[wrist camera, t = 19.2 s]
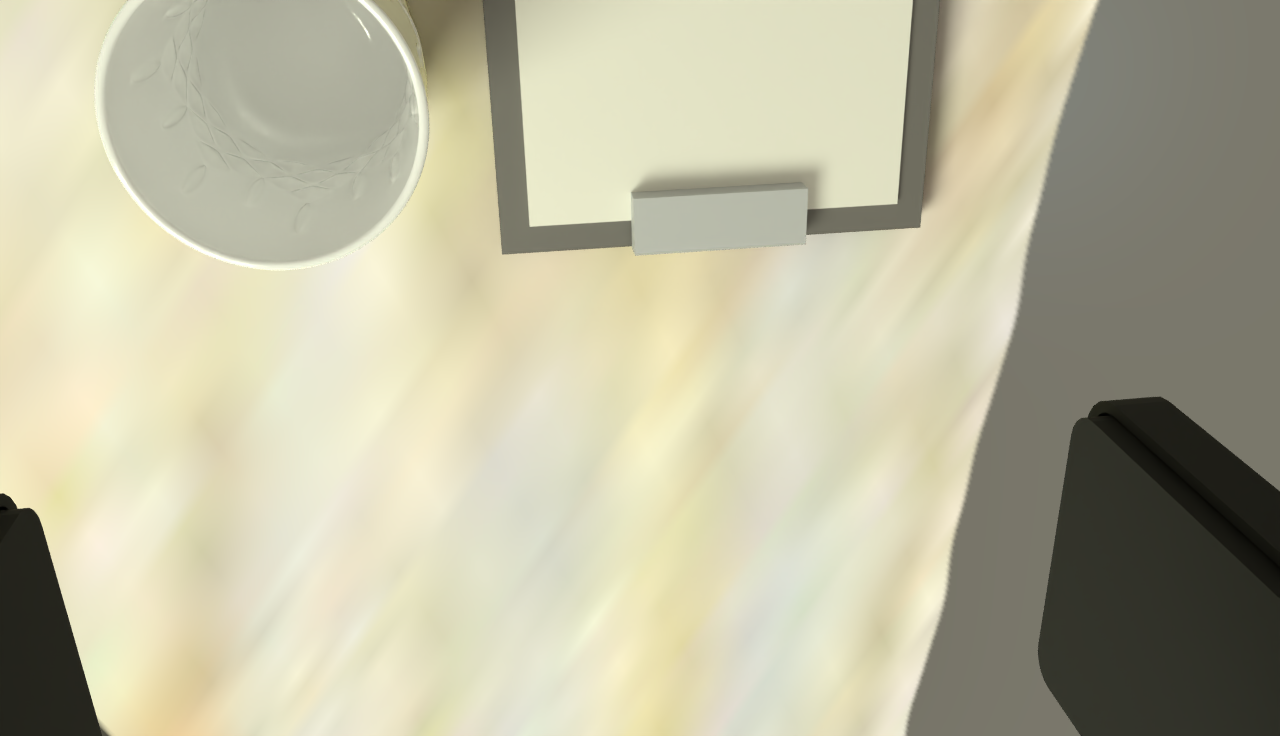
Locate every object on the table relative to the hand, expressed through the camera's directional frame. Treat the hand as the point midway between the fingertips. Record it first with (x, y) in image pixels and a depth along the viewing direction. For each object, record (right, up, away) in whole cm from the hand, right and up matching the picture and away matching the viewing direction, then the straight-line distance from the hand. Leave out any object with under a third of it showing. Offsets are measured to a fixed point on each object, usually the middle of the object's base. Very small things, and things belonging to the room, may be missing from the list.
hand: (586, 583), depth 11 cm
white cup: (-10, +12, +27) cm, 31 cm away
